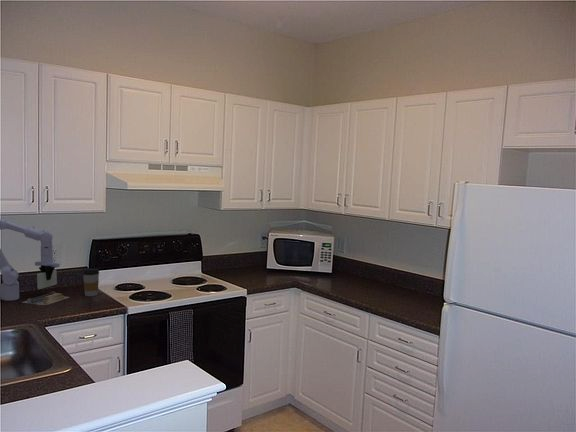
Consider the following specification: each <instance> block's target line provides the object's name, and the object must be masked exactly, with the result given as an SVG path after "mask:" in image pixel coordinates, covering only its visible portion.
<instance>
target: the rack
mask: <svg viewBox="0 0 576 432" xmlns="http://www.w3.org/2000/svg"><path fill="white" fill-rule="evenodd" d="M56 293H57V292H56V291H50V292H49V293H46V294H43V295H40V296H36V297H34V298H33V297H32V298H27V299H26V300H24V301H22V302H21V304H22V303H25V304H29V305H30V304H32V305H39V306H47V305H51V304H54V303H57V302H61V301H63V300H65V299H69V298H70V296H65V299H62V300H59V301H56V302H53V303H44V301H43V300H45V297H46V296H49V295H52V294H56Z"/></svg>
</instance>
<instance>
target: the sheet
mask: <svg viewBox="0 0 576 432" xmlns="http://www.w3.org/2000/svg"><path fill="white" fill-rule="evenodd" d="M57 276H58V275H57V269H54V271H53V273H52V276H51V280H47V279H46V272H43V273H42V272H40V273H36V281H37V290H41V289H45V288H48V287H52V286H56V285H58V279H57V278H58V277H57Z"/></svg>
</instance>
